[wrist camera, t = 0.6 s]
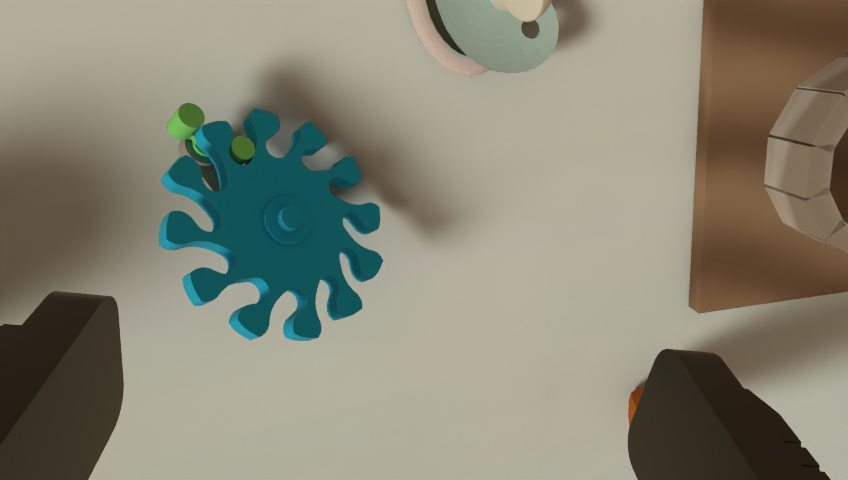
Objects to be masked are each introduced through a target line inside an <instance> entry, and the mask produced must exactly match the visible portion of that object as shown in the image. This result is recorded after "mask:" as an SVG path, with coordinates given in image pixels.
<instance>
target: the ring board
mask: <svg viewBox="0 0 848 480" xmlns="http://www.w3.org/2000/svg"><path fill="white" fill-rule="evenodd" d="M847 291H848V0H704V8H703V28H702V48H701V69H700V89H699V109H698V130H697V150H696V170H695V190H694V211H693V231H692V251H691V272H690V292H689V306H690V307H691V308H692V309H694V310H695V311H696V312H697V313H705V312H711V311H718V310H725V309H732V308H739V307H745V306H752V305H759V304H766V303H772V302H779V301H786V300H793V299H800V298H806V297H813V296H820V295H827V294H834V293H840V292H847Z"/></svg>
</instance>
